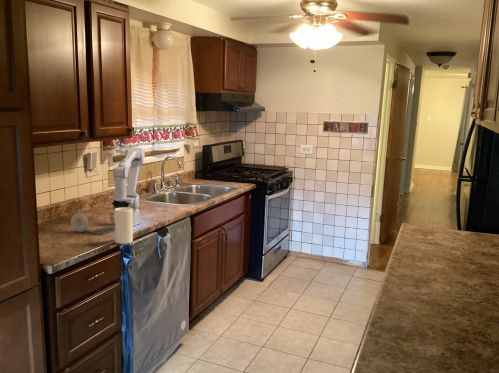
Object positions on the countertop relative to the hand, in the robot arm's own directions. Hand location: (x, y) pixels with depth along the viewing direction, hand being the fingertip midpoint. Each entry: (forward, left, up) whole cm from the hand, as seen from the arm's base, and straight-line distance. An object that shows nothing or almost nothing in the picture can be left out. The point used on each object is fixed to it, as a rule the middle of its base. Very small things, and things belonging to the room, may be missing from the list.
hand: (120, 215), depth 235 cm
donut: (+12, -16, -9) cm, 22 cm away
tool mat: (+2, -7, -8) cm, 11 cm away
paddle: (0, 0, -2) cm, 2 cm away
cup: (+15, +14, -9) cm, 22 cm away
